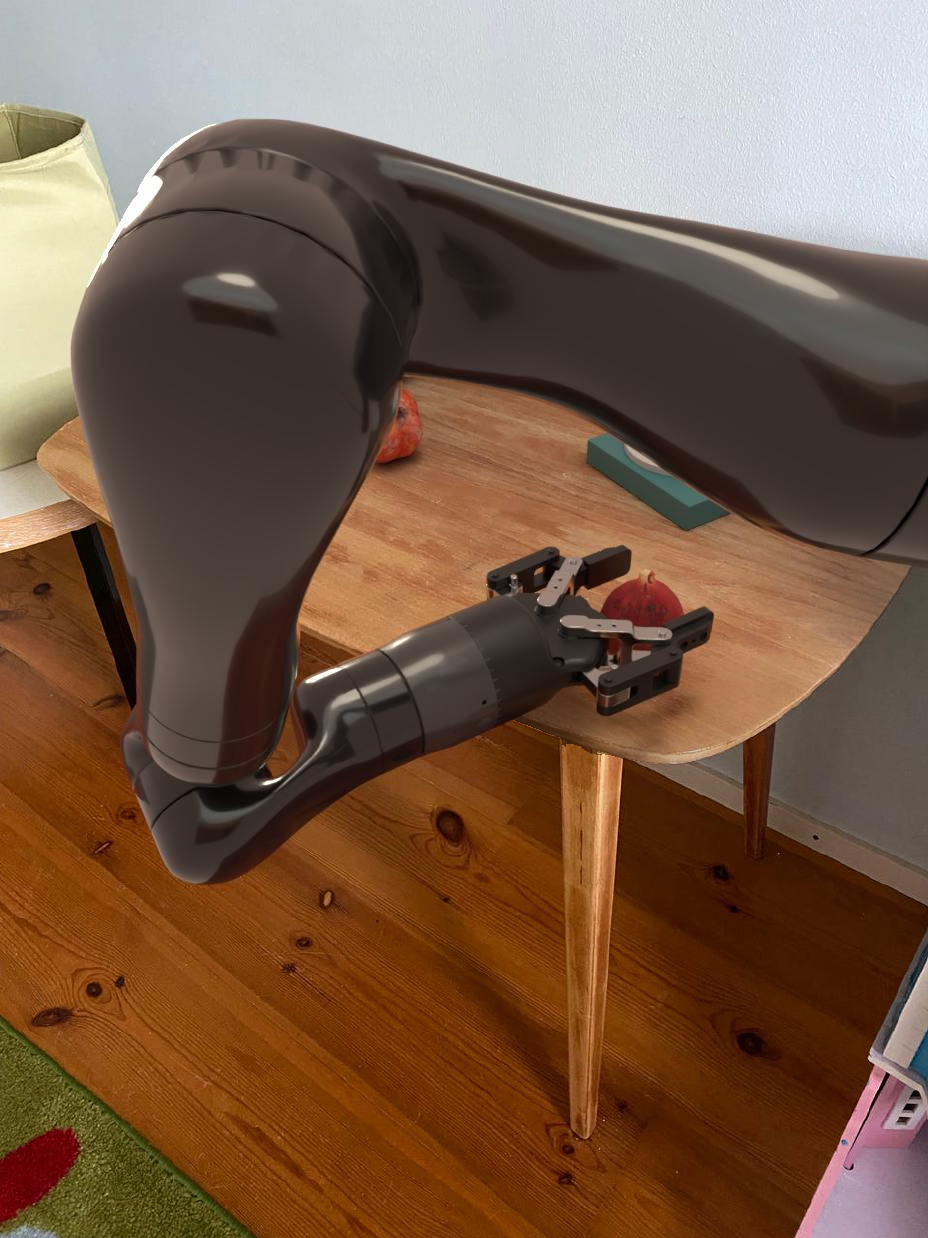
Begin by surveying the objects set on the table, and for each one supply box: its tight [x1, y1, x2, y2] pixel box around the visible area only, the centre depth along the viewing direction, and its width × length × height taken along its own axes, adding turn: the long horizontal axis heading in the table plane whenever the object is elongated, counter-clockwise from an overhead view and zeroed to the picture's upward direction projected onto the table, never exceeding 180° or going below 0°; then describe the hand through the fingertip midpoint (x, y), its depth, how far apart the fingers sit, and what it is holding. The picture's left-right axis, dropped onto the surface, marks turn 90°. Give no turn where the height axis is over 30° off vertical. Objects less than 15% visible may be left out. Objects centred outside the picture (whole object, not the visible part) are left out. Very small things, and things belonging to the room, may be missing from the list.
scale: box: [586, 432, 731, 531], centre depth 89 cm, size 14×12×3 cm
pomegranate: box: [375, 387, 424, 464], centre depth 92 cm, size 7×7×10 cm
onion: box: [599, 567, 685, 655], centre depth 67 cm, size 6×6×8 cm
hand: (666, 587), depth 67 cm, fingers open, 8 cm apart
